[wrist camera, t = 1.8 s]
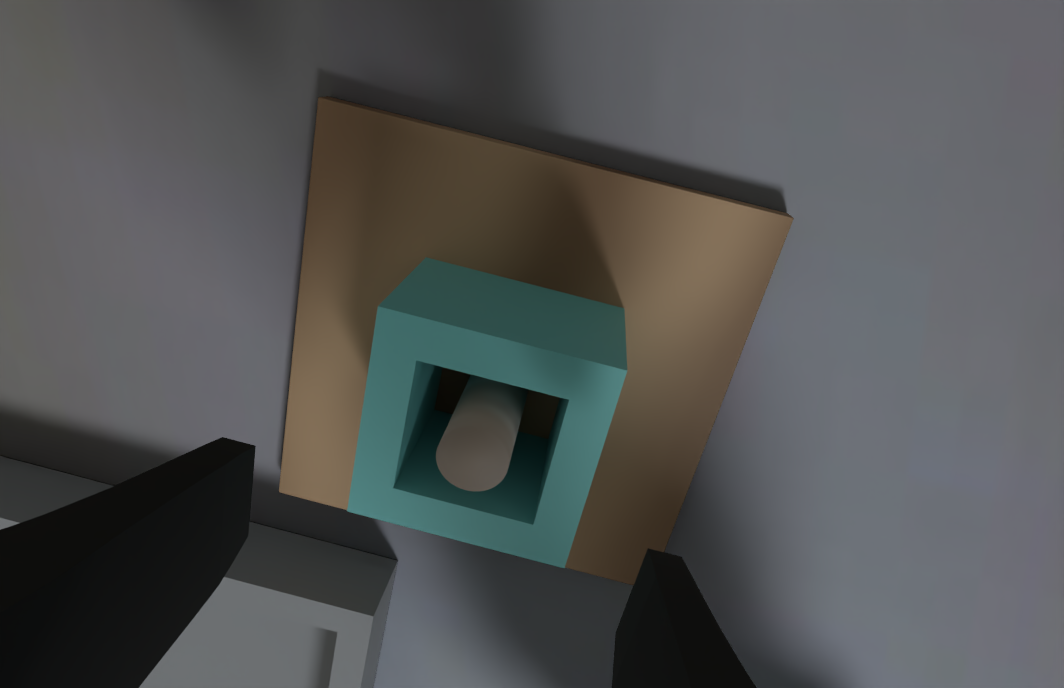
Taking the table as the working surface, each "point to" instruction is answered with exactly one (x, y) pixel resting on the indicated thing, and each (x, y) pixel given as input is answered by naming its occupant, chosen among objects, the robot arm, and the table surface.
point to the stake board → (535, 258)
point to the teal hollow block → (501, 355)
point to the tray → (253, 602)
